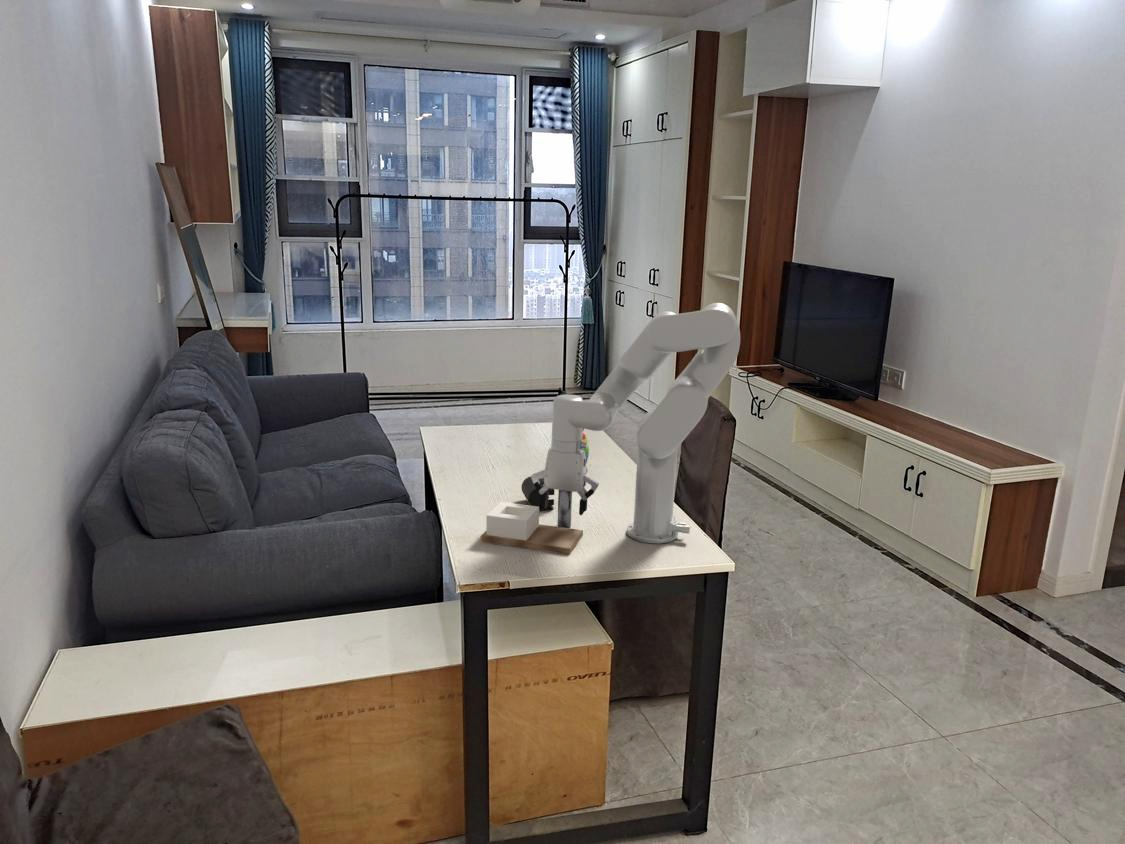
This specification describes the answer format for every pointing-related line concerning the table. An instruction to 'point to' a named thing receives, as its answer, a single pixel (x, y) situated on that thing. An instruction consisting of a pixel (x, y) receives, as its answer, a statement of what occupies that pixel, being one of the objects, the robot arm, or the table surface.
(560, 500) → the peg
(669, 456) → the robot arm
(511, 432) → the table surface
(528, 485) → the end cap
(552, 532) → the board
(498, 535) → the socket
